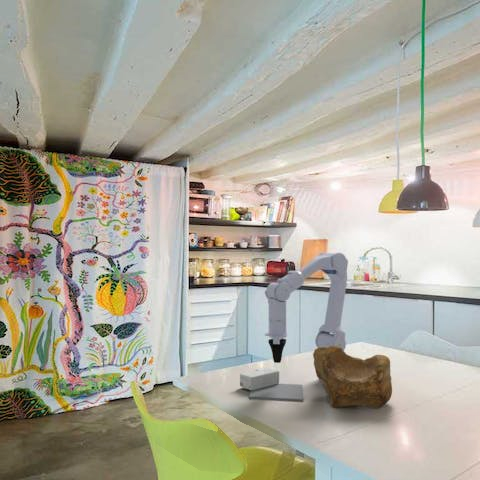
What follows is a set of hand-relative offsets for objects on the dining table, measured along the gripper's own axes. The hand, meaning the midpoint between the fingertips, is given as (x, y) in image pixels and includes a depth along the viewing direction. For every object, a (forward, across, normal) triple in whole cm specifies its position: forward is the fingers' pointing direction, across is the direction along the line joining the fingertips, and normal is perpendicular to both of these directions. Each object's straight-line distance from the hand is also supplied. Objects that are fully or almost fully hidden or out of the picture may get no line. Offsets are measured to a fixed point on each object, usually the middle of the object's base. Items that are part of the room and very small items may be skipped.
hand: (277, 362), depth 132 cm
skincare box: (+6, -5, -2) cm, 8 cm away
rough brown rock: (+9, +10, +21) cm, 25 cm away
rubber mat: (+8, +4, 0) cm, 9 cm away
